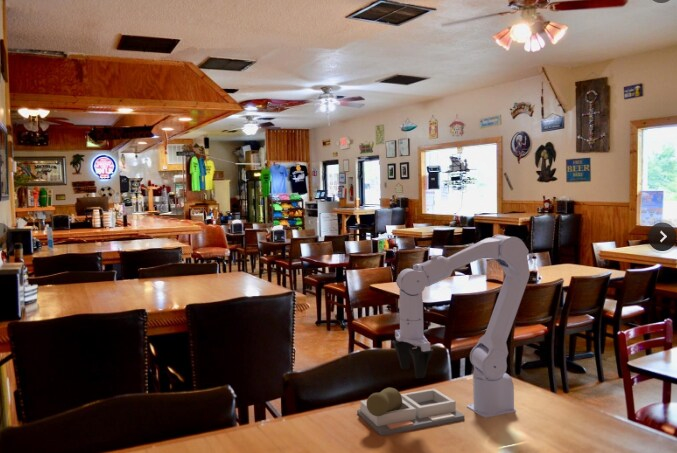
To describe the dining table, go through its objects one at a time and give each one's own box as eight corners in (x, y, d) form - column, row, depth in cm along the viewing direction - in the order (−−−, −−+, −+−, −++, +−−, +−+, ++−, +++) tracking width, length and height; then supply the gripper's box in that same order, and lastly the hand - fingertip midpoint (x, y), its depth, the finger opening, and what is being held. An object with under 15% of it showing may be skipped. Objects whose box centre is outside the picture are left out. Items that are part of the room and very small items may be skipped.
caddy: (434, 400, 145) (434, 387, 145) (464, 419, 132) (464, 405, 132) (357, 413, 138) (356, 400, 137) (381, 436, 124) (380, 420, 124)
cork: (404, 410, 134) (390, 416, 124) (382, 415, 136) (366, 421, 126) (398, 385, 135) (384, 388, 125) (376, 390, 137) (360, 394, 127)
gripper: (383, 314, 140) (385, 366, 141) (410, 326, 127) (412, 384, 128) (408, 311, 143) (409, 363, 144) (437, 322, 129) (438, 379, 130)
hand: (412, 372), depth 136 cm, fingers open, 7 cm apart
